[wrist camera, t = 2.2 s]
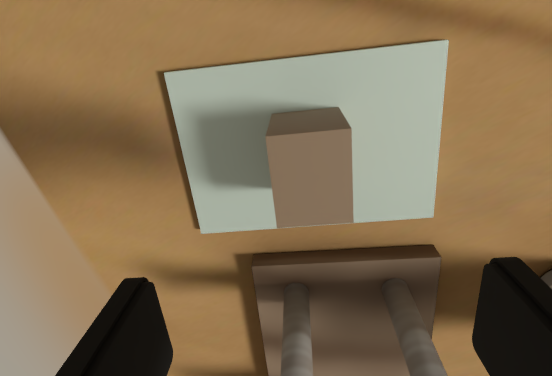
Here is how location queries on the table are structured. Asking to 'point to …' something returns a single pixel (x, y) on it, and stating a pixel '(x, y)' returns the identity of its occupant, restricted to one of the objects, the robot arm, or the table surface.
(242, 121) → the shelf board
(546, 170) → the table surface
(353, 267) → the peg stand
